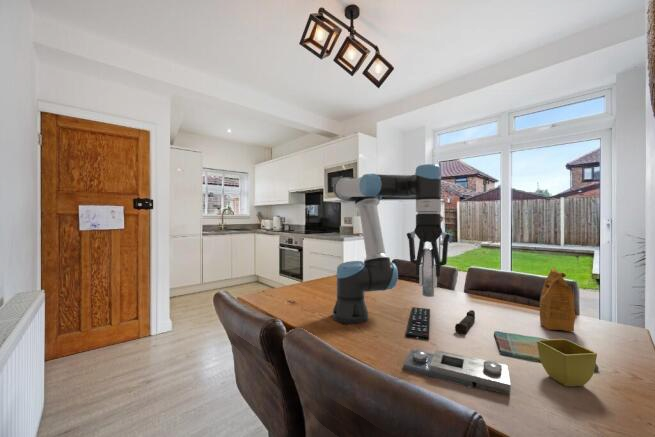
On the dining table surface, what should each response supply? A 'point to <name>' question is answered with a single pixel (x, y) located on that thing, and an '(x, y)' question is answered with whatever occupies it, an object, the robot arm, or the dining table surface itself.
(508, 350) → the dish towel
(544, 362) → the flower pot
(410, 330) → the remote control
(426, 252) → the steel pin
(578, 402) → the dining table surface
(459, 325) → the hand tool
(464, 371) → the grey block with knob
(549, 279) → the coffee package
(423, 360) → the lower chain end
